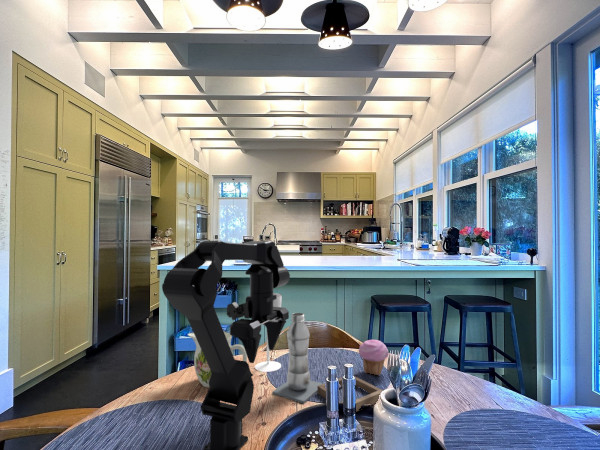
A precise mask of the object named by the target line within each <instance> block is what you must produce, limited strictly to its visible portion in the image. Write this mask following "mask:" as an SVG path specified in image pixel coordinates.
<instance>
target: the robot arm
mask: <svg viewBox="0 0 600 450" xmlns="http://www.w3.org/2000/svg"><path fill="white" fill-rule="evenodd" d="M225 261H243V262H244V263H247V264H250V266H249V268H247V269H246V271H245V275H246V276H247V275H249V295H248V296H246V298H245V302H244V303H241V304H238V302H236V301H235V302H232V303H229V304H227V306H226V316H227V317H228V318H231V320H232V321H233V322H232V323H230V325H229V333H230V335H232V337H234V338H236V339H239V340H240V342H241V343H242V346H243V347H244V348H245V351H246V354H247V362H246V361H243V360H239V359H235V357H234V353H233V354H232V351H231V349H230V346H229V344H228V341H227V339H226V336H225V334H224V332H225V331H224V329H223V327H222V324H221V321H220V318H219V316H218V314H217V312H216V309H215V307H214V306H215V302H216V299H217V295H218V292H217V287H216V286H217V285H218V284H219V282H220V280H221V278H222V277H223V263H225ZM206 262H210V264H209V266H208V267H207V268H201V267H202V266H203V265H205V263H206ZM290 278H291V275H290V272H289V270H288V268H287V267H286V266H284V261H283V259H282V257H281V254H280V251H279V248H278V246H277V245H276V242H275V241H273V240H252V241H251V240H250V241H246V242H244V243H239V242H227V241H226V242H225V241H223V240H204V241H202V242H200V243H198V245H197V246H196V247H195V248H194V249H193V250H192V251H190V253H188V254H187V255H185V256H184V257H183V258H181V259H179V261H177V262H176V264H175V265H174V266H173V267H172V268H171V269H170V270H169V271H168V272H167V273H166V274H165V278H164V280H163V283H162V284H161V290H162V293H163V294H164V295H163V296H164V297H165V298H166V299H167V300H168V302H169V304H170V305H171V306H172V308H173V309H175V310H176V311H177V312H179V313H180V314H182V315H183V316H184V317H185V318H186V319H187V321H188V323H189V326H190V327H191V330H192V333H194V334H195V337H196V339H197V341H198V343H199V345H200V348H201V350H202V352H203V354H204V357H205V359H206V361H207V363H208V365H209V368H210V370H211V376H210V379H209V387H210V388H209V387H208V390H207V392H206V394H205V396H204V399H203V400H202V403H201V405H200V410H201V414H202V415H203V416H208V417H211V418H210V424H209V427H210V428H209V432H210V433H209V442H208V443H207V444H206V445H204V446H203V450H240V449H241V448H242V447H243V446H244V445H245V444H246V443H247V442H248V441H249V436H247V435H244V434H243V420H244V419H245V418H246V417H247V416H248V415H249V414H250V413H251V408H252V401H253V397H254V390H255V386H254V385H255V384H254V380H253V378H252V377H253V376H254V374H253V373H252V372H251V370H250V365H249V364H255V361H256V357H257V353H258V350H259V346H260V342H261V338H262V334H261V332H262V325H263V324H264V325H263V326H265V328H266V338H267V337H268V346H269V351H274V349H275V347H276V344H277V342H278V340H279V337H280V335H281V333H282V330H283V328H284V327H285V324H286V323H287V321H288V319H290V318H289V317H290V316H289V313H290V312H289V310H288V309H287V308H286V307H282V306H281V307H273V300H275V299H277V295H273V293H274V289H277V288H280V287H284V286H285V285H286V284H288V283H289V281H290ZM243 317H244V318H243ZM248 362H249V363H248Z"/></svg>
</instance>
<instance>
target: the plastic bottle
mask: <svg viewBox="0 0 600 450" xmlns="http://www.w3.org/2000/svg"><path fill="white" fill-rule="evenodd" d="M290 321H291V322H292V323H291V324H290V325H289V327H288V329H287V332H286V338H287V339H286V340H287V345H288V370H287V374H286V375H287V376H286V380H287V381H286V382H288V385H289V387H290V388H291V389H293V390H304V389H306V388H307V387H308V386H309V384H310V380H311V373H310V369H309V358H308V357H309V343H310V335H311V334H310V331H309V330H310V329H309V328H308V327H307V325H306V324H305V321H306V319H305V314H304V312H294V313H291V320H290Z"/></svg>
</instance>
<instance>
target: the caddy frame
mask: <svg viewBox="0 0 600 450" xmlns="http://www.w3.org/2000/svg"><path fill="white" fill-rule="evenodd" d="M353 376H354V377H355V379H356V386H355V387H356V388H358V387H360V388H362V389H364V390H365V391H367V392H368V393H367V392H366V393H367V395H364V396H362V397H359V398H357V399H355V400H356V412H359V411H360V410H359V409H360V408H361V406H362V405H364V404H373V405H375V404H377V403H378V402H377V401H378V399H379V395H380V393H381V392H382V391H384V390H383V389H381V388H379V387H377V386H375V385H373V384H372V383H370V382H367V381H365V380H364V379H361V378H360V377H357V376H355V375H353ZM337 379H338V380H339V384H340V385H341V387H342V377H340V378H337ZM317 388H318V392H317V395H319V396H320V397H322V398H324V399H325V400H327V399H326V388H325V383H322V385H319V386H317ZM342 388H343V387H342ZM365 391H364V392H365ZM369 393H370V394H369ZM376 402H377V403H376ZM356 412H355V413H356Z"/></svg>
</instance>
